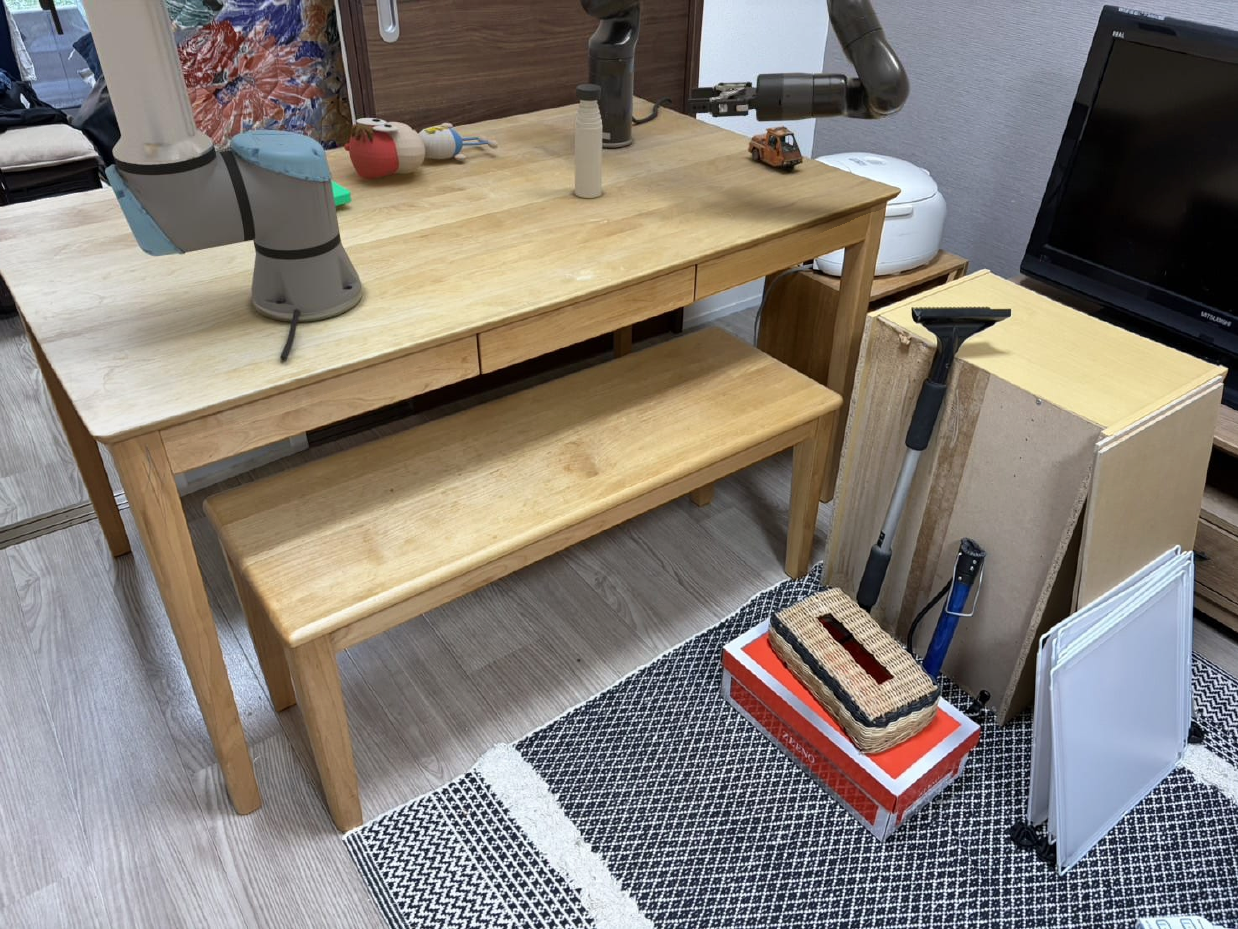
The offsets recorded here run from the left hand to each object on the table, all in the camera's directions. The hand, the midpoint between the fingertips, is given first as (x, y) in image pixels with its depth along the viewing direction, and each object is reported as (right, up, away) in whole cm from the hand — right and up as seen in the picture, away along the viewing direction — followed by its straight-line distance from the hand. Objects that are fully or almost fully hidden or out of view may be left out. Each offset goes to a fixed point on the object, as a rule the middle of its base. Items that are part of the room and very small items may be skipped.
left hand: (108, 29), depth 146 cm
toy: (+43, -10, +35) cm, 56 cm away
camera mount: (+27, -22, +18) cm, 40 cm away
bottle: (+75, -19, +25) cm, 81 cm away
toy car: (+112, -8, +40) cm, 119 cm away
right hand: (+93, -6, +12) cm, 94 cm away
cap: (+76, -4, +14) cm, 77 cm away
